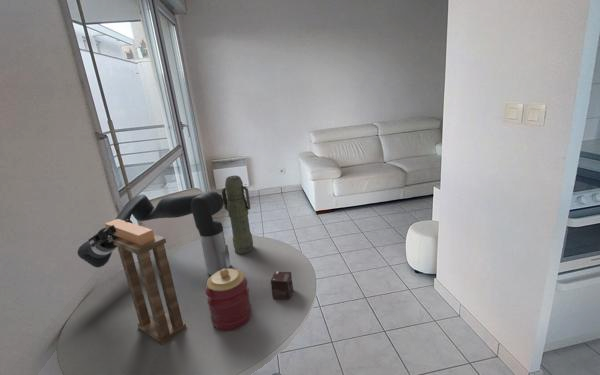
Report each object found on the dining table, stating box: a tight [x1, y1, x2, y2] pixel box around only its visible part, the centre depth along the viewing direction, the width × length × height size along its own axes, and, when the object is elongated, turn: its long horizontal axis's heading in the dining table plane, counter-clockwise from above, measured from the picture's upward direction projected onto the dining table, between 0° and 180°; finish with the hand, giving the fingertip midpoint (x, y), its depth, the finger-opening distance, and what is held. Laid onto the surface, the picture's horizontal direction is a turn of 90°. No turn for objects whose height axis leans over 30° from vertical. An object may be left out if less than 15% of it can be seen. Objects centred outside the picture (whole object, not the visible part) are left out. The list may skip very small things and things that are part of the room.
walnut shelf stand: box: [113, 233, 187, 345], centre depth 94 cm, size 14×8×31 cm, turn 55°
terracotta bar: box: [104, 218, 155, 245], centre depth 92 cm, size 20×4×3 cm, turn 55°
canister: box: [204, 268, 253, 332], centre depth 97 cm, size 13×13×18 cm
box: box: [270, 271, 294, 300], centre depth 108 cm, size 6×6×7 cm
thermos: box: [221, 175, 254, 255], centre depth 139 cm, size 9×12×35 cm
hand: (121, 225), depth 93 cm, fingers closed on terracotta bar, 4 cm apart
